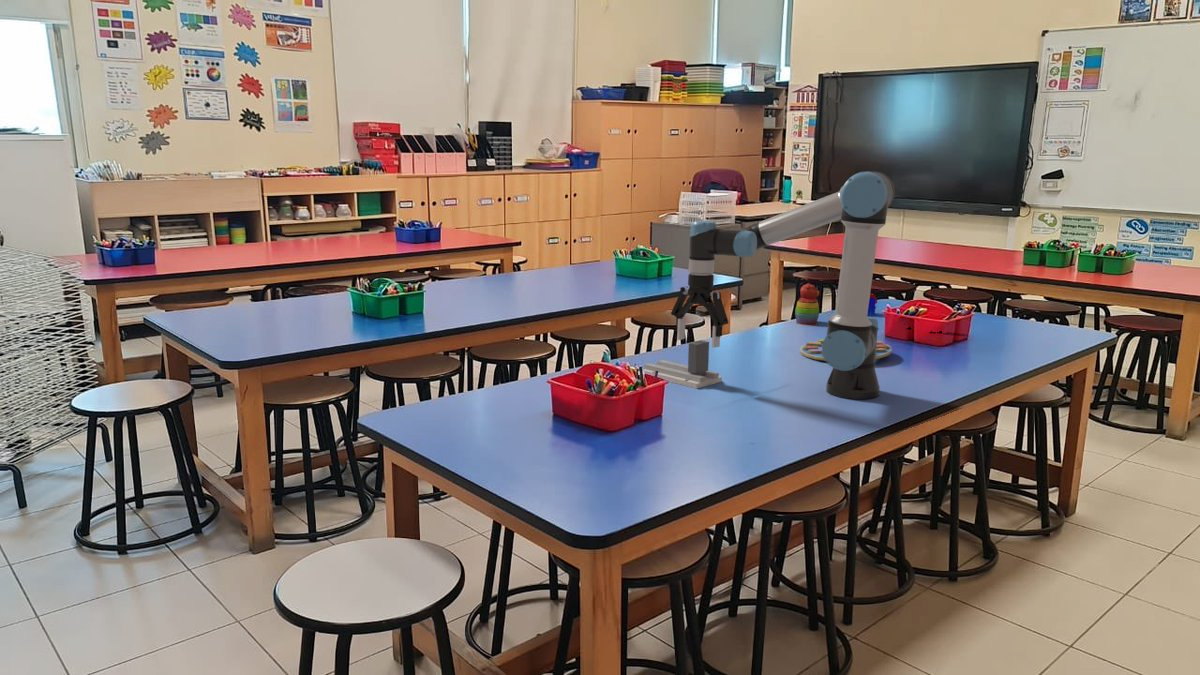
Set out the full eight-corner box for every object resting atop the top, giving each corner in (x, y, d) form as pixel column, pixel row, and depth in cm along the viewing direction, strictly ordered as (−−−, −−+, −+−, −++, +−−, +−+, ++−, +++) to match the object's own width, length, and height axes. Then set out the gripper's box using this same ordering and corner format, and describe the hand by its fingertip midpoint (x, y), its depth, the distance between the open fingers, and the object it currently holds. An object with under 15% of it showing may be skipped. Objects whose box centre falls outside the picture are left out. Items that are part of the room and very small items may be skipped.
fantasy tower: (873, 317, 374) (875, 290, 372) (883, 322, 363) (885, 294, 360) (846, 317, 374) (848, 290, 371) (855, 322, 362) (857, 294, 360)
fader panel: (721, 381, 267) (722, 372, 266) (696, 388, 258) (696, 378, 258) (665, 368, 283) (665, 359, 282) (640, 374, 274) (640, 365, 274)
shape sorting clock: (799, 345, 319) (799, 329, 318) (885, 350, 313) (887, 333, 312) (800, 365, 290) (801, 347, 289) (896, 370, 284) (897, 352, 283)
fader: (708, 375, 266) (709, 341, 264) (695, 379, 262) (696, 344, 260) (700, 373, 268) (701, 340, 266) (687, 377, 264) (688, 343, 262)
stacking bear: (818, 331, 344) (821, 286, 340) (792, 329, 347) (794, 285, 344) (821, 326, 354) (824, 283, 350) (796, 324, 357) (798, 281, 354)
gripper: (742, 277, 253) (738, 348, 257) (677, 267, 270) (675, 334, 274) (726, 279, 247) (723, 352, 252) (661, 269, 265) (659, 337, 269)
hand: (697, 343), depth 263 cm, fingers open, 13 cm apart
